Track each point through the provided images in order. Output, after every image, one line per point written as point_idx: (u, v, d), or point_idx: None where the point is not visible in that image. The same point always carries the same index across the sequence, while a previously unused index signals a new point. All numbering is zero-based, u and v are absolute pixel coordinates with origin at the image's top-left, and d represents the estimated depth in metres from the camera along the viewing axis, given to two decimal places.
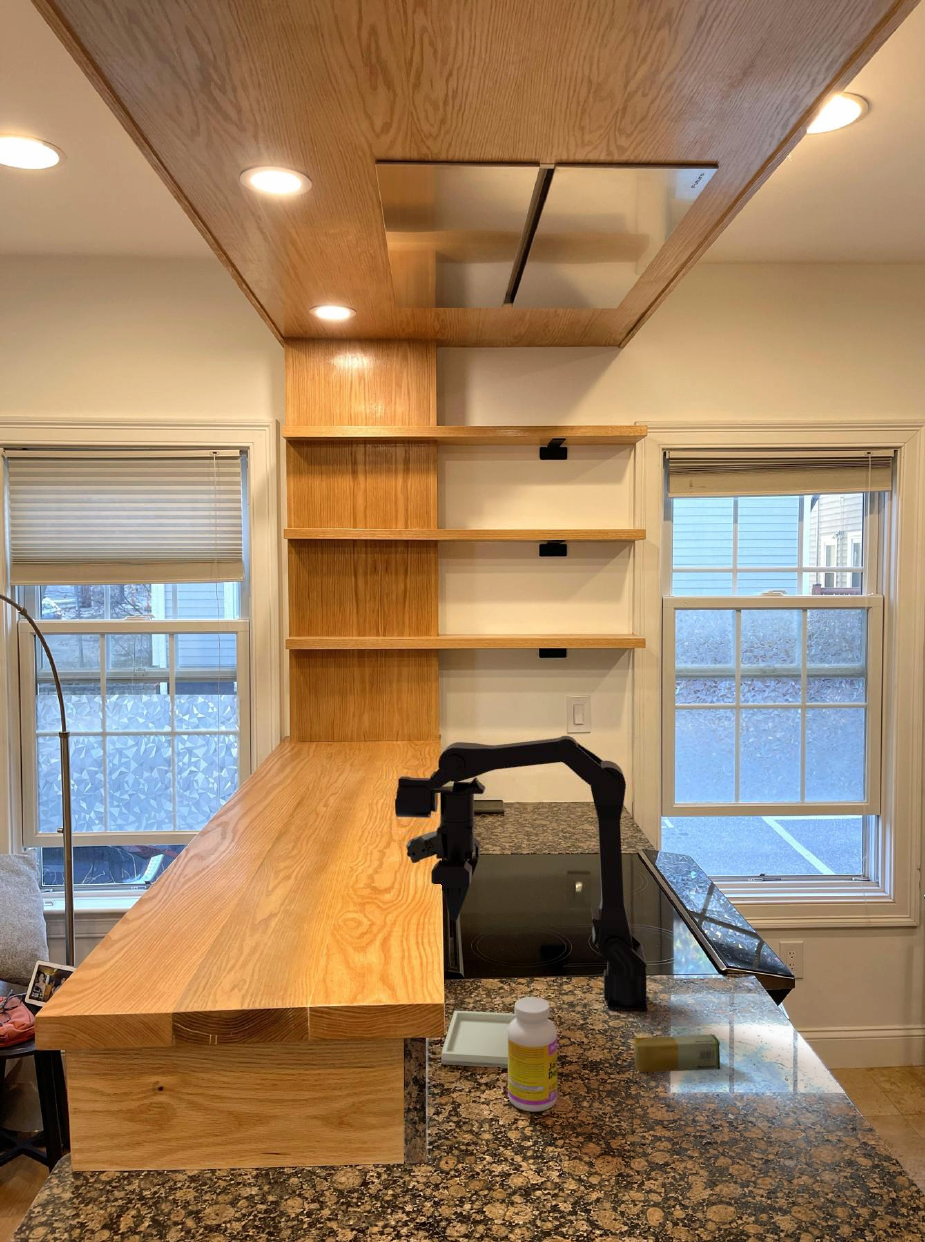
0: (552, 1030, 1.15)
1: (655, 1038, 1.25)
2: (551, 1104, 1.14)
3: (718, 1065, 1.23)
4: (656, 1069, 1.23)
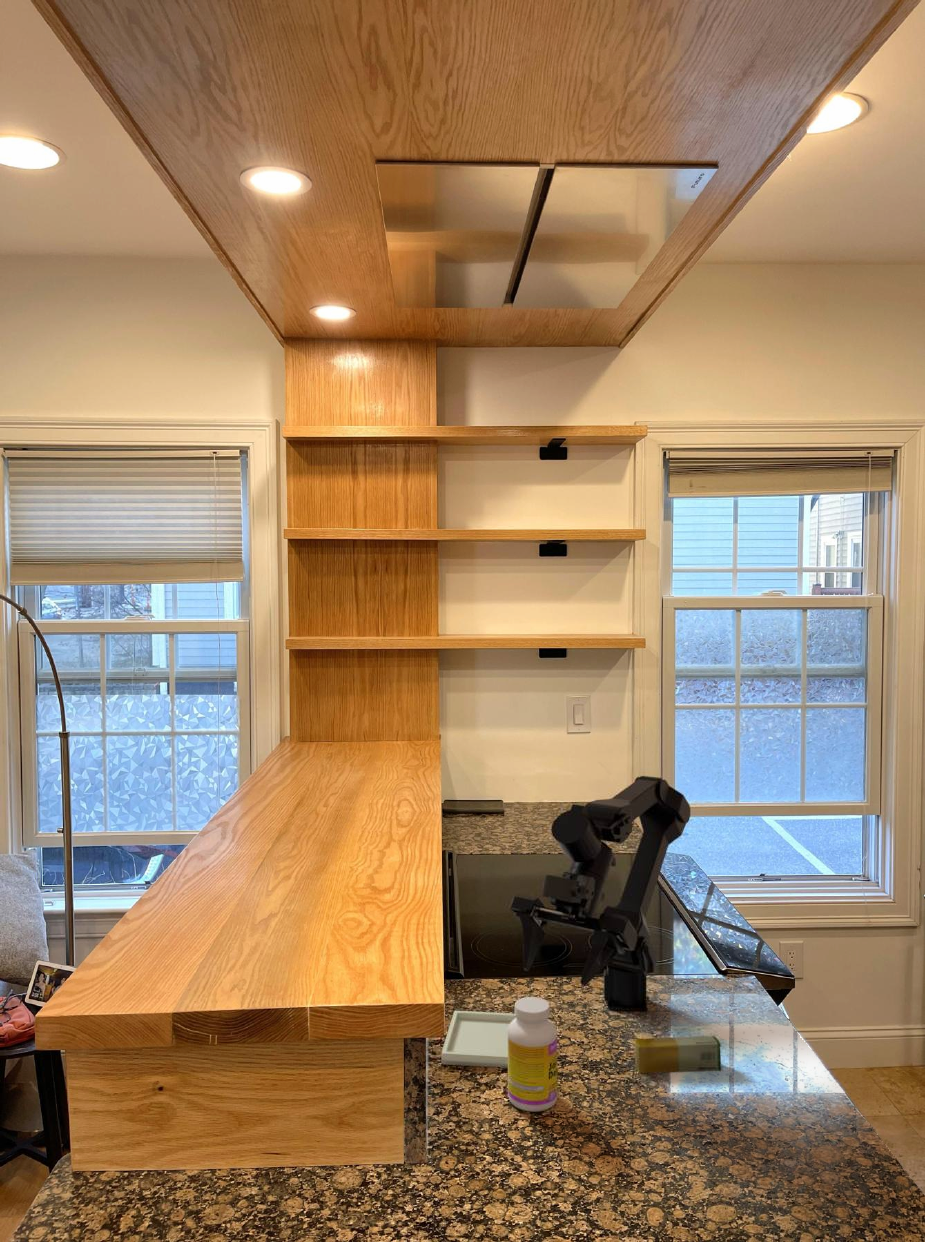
0: (552, 1030, 1.15)
1: (656, 1039, 1.25)
2: (551, 1104, 1.14)
3: (719, 1067, 1.23)
4: (657, 1070, 1.22)
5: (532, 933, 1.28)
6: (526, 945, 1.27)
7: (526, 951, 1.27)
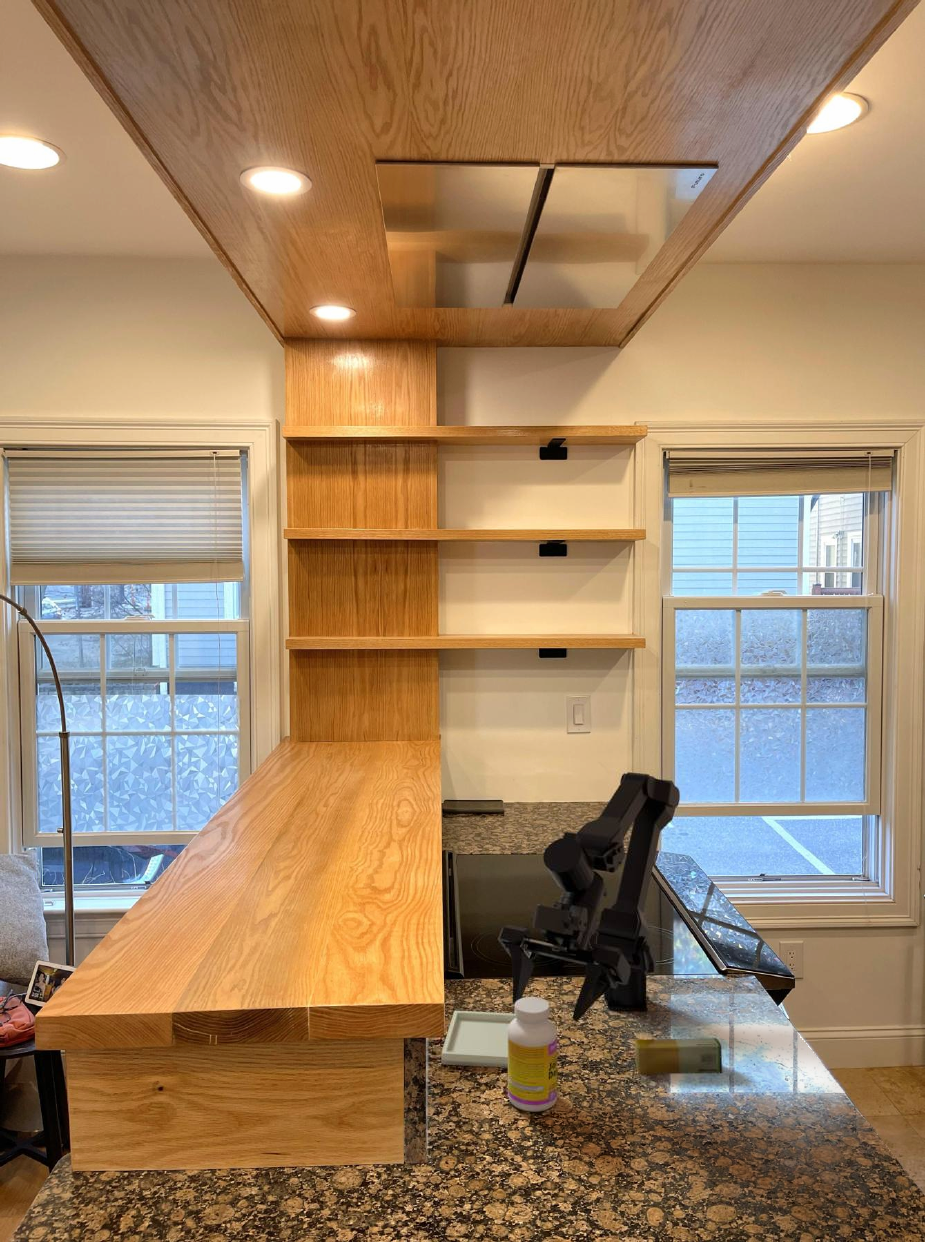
0: (552, 1030, 1.15)
1: (656, 1040, 1.24)
2: (551, 1104, 1.14)
3: (720, 1069, 1.22)
4: (657, 1071, 1.22)
5: (522, 965, 1.24)
6: (515, 978, 1.23)
7: (515, 984, 1.22)
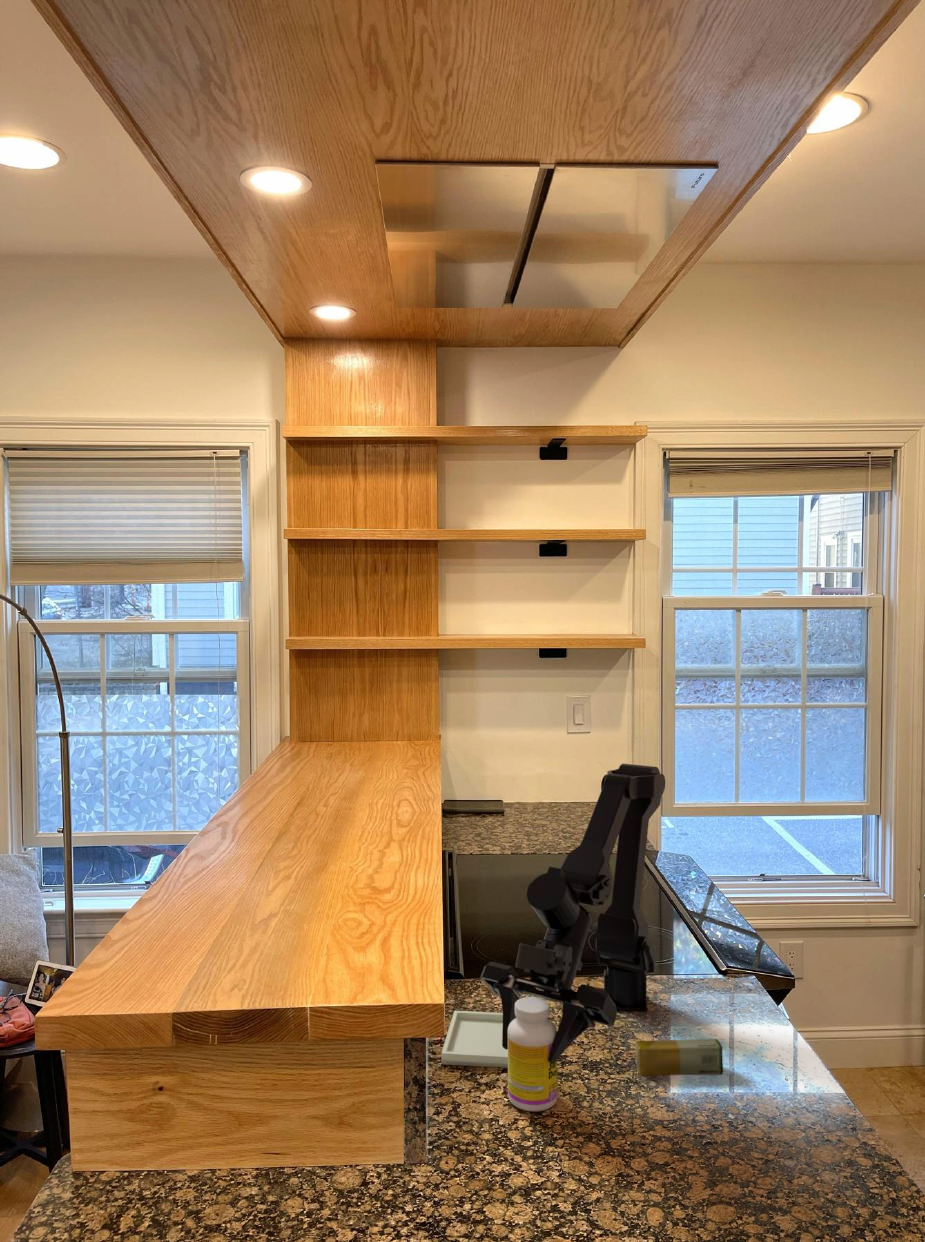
0: (552, 1030, 1.15)
1: (657, 1041, 1.24)
2: (551, 1104, 1.14)
3: (721, 1070, 1.22)
4: (657, 1073, 1.22)
5: (512, 1007, 1.19)
6: (505, 1021, 1.18)
7: (505, 1027, 1.18)
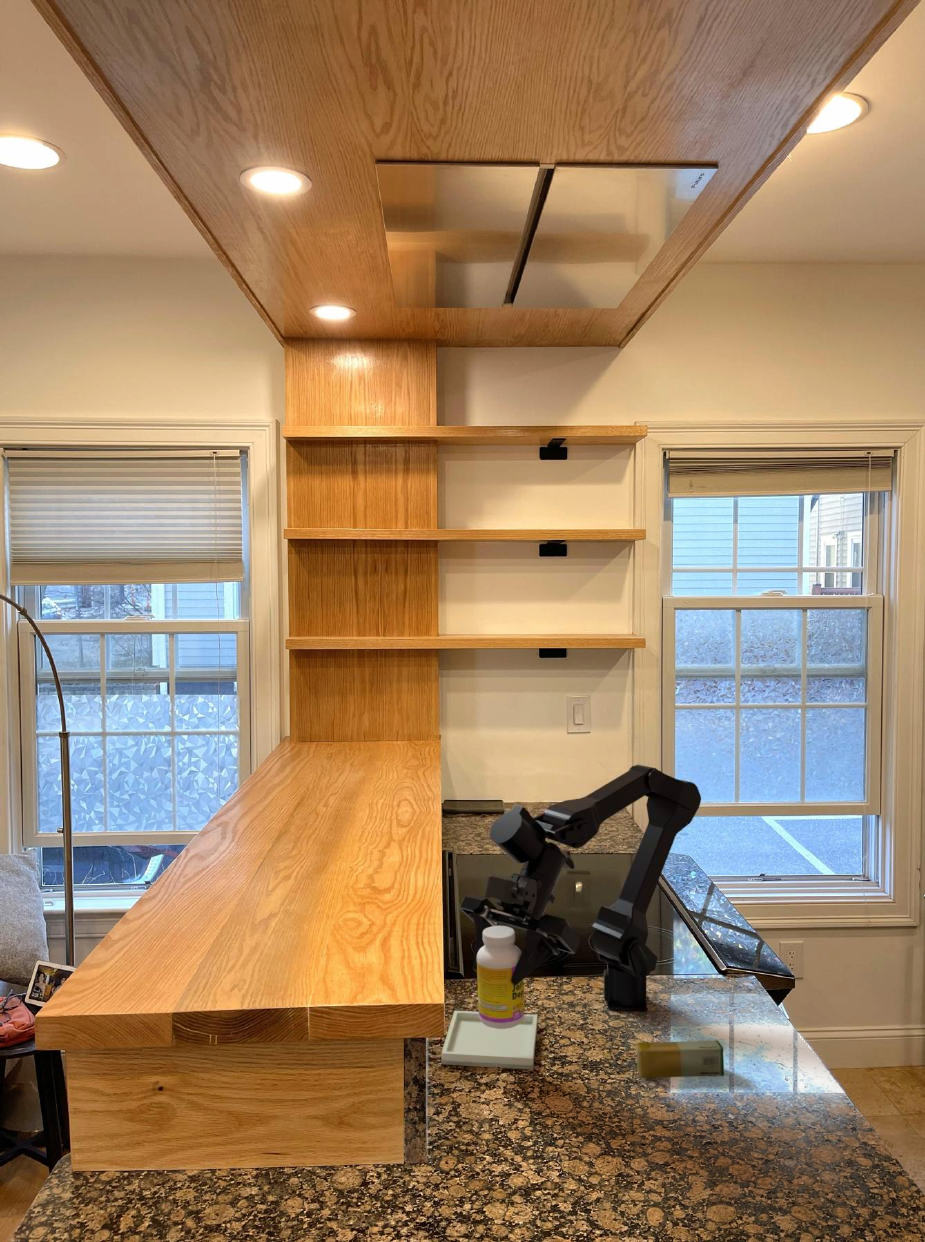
0: (516, 955, 1.23)
1: (658, 1043, 1.23)
2: (516, 1023, 1.22)
3: (722, 1071, 1.21)
4: (658, 1075, 1.21)
5: None
6: (477, 946, 1.28)
7: (476, 952, 1.27)
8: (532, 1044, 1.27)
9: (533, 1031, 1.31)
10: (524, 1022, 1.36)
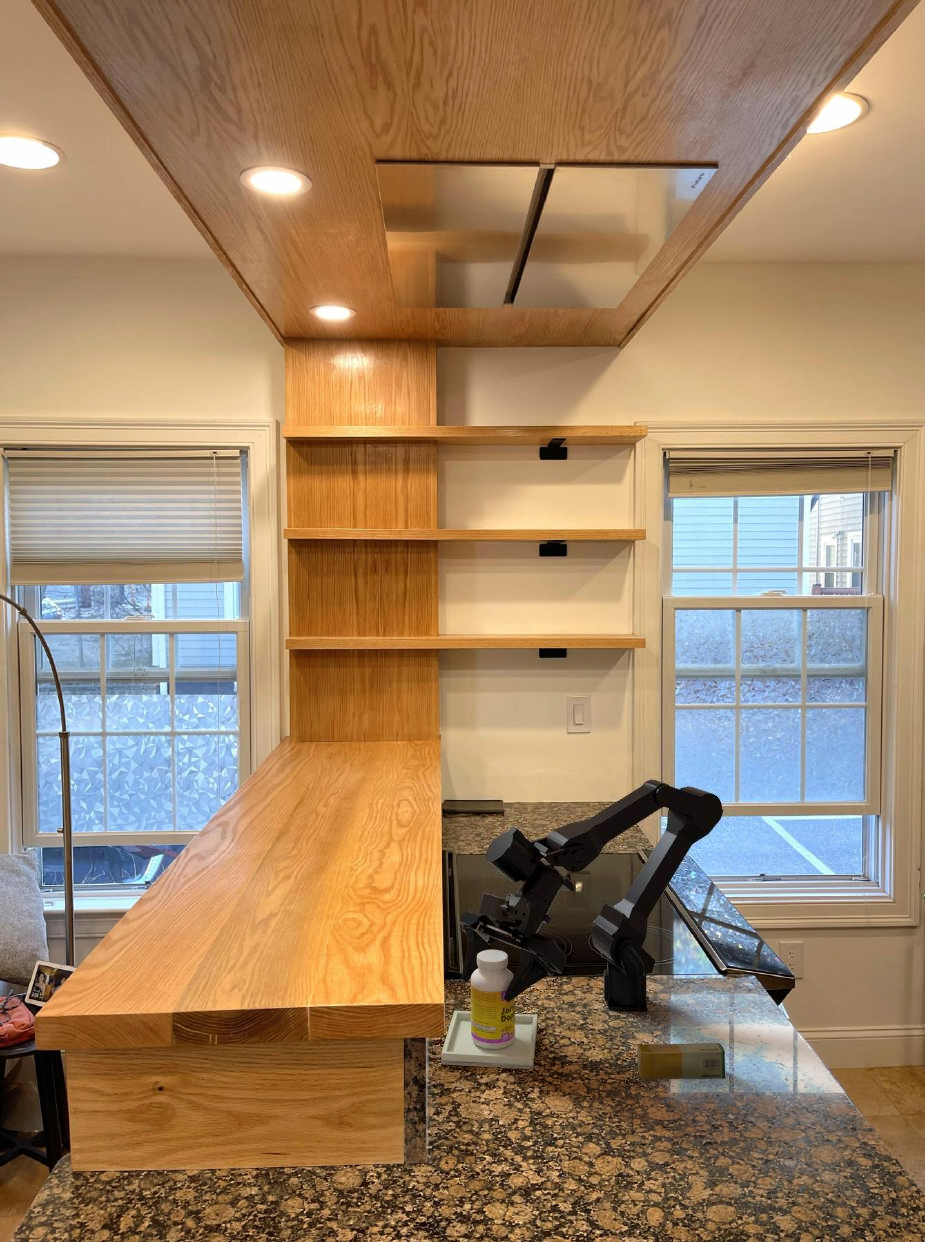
0: (507, 979, 1.29)
1: (659, 1045, 1.23)
2: (504, 1044, 1.28)
3: (723, 1074, 1.21)
4: (659, 1077, 1.21)
5: (475, 947, 1.35)
6: (467, 958, 1.35)
7: (466, 963, 1.34)
8: (532, 1044, 1.27)
9: (533, 1031, 1.31)
10: (524, 1022, 1.36)
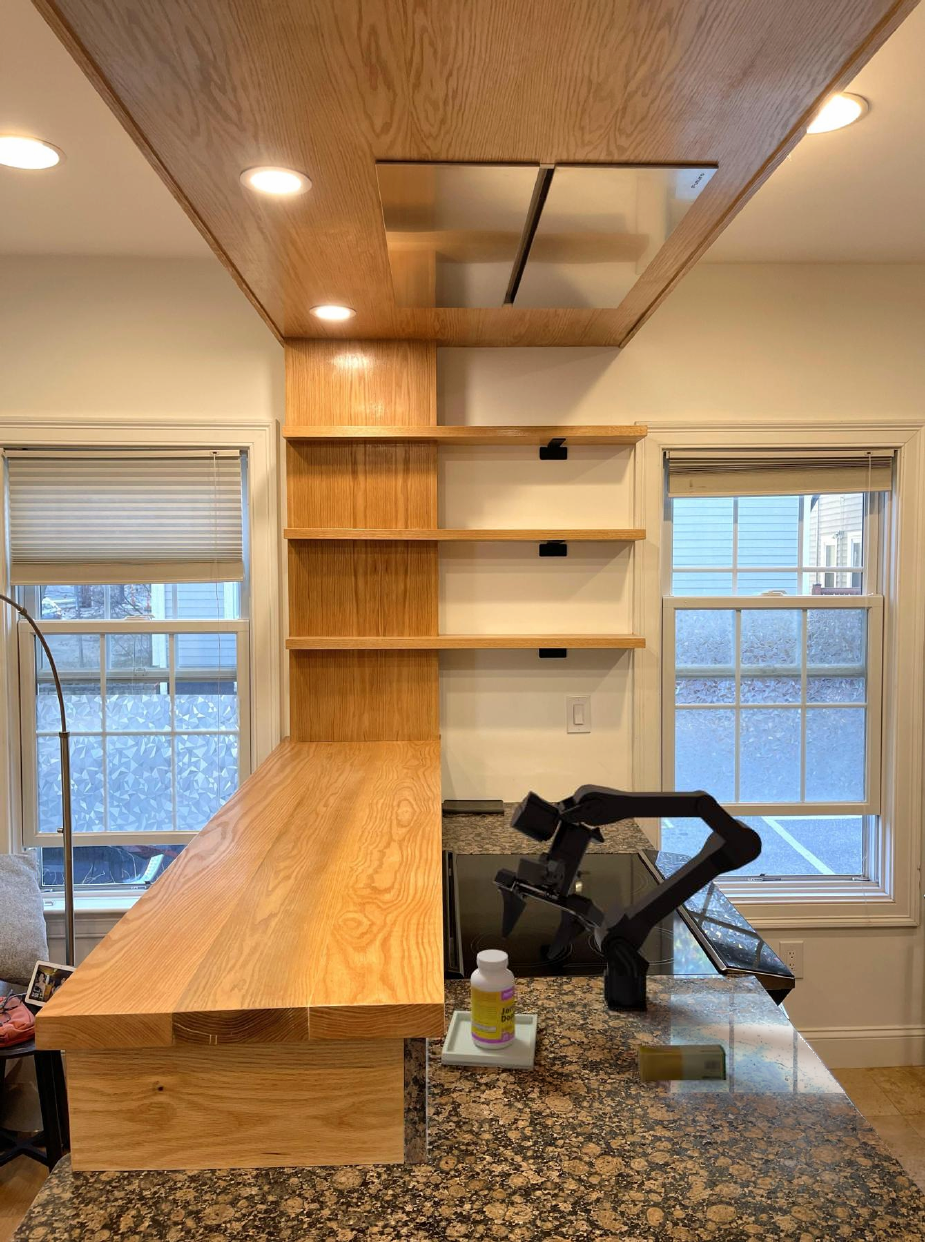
0: (507, 979, 1.29)
1: (660, 1046, 1.23)
2: (504, 1044, 1.28)
3: (724, 1076, 1.20)
4: (660, 1078, 1.20)
5: (511, 905, 1.41)
6: (505, 916, 1.40)
7: (504, 921, 1.40)
8: (532, 1044, 1.27)
9: (533, 1031, 1.31)
10: (524, 1022, 1.36)
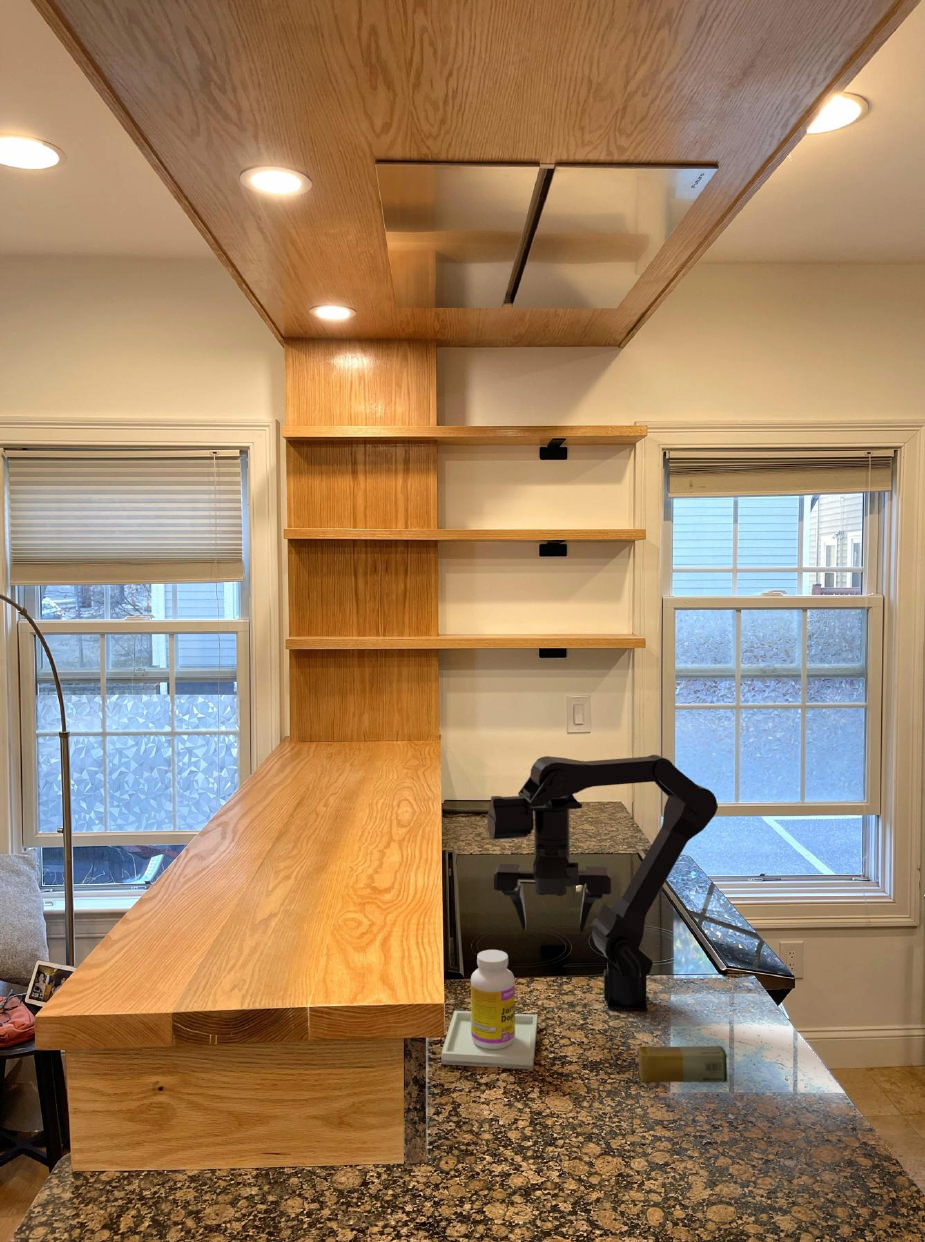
0: (507, 979, 1.29)
1: (660, 1048, 1.22)
2: (504, 1045, 1.28)
3: (725, 1078, 1.20)
4: (660, 1079, 1.20)
5: (522, 901, 1.41)
6: (520, 913, 1.41)
7: (521, 917, 1.41)
8: (532, 1044, 1.27)
9: (533, 1031, 1.31)
10: (524, 1022, 1.36)
